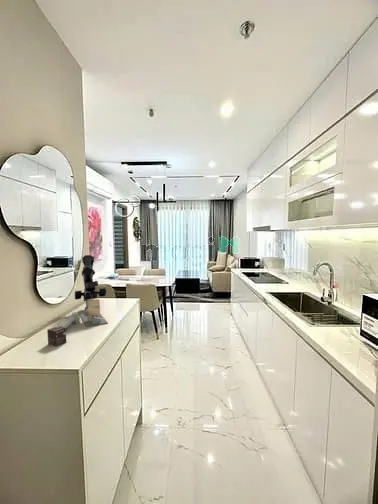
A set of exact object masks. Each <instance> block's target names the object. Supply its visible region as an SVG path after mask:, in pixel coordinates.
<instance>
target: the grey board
mask: <svg viewBox="0 0 378 504" xmlns="http://www.w3.org/2000/svg"><path fill="white" fill-rule="evenodd" d="M79 316H80V319H81V320H82V322H83V323H84V325H85V327H86V328H88V327H94V326H101V325H106V324H109V322H108V321H107V320H106V319H105V318H104V316H103V315H102V314H101V313H100V317H97V316H92V321H89V320H88V309H86V308H85V313H80V314H79Z"/></svg>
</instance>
